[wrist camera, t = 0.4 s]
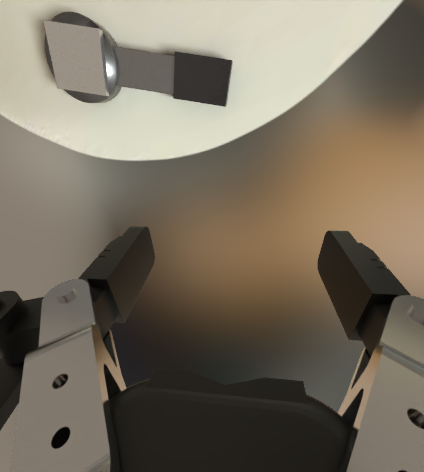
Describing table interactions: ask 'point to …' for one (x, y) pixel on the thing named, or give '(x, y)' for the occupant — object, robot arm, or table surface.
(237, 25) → the table surface
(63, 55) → the grey paddle-shaped piece
